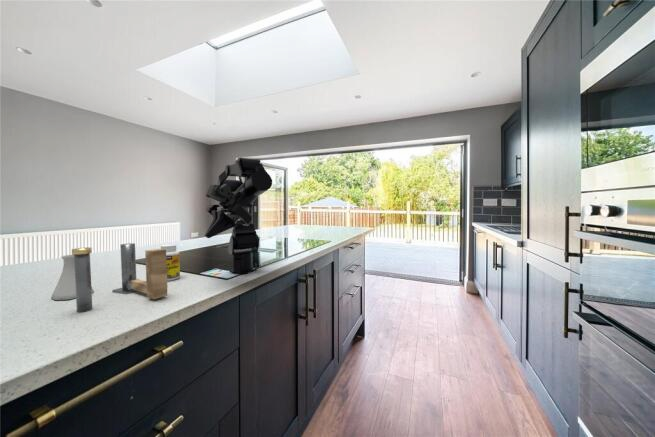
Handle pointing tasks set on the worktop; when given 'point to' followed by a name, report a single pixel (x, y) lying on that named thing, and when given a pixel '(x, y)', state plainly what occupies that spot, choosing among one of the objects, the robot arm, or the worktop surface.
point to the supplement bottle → (172, 261)
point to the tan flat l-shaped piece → (153, 275)
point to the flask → (66, 281)
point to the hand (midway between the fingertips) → (206, 237)
